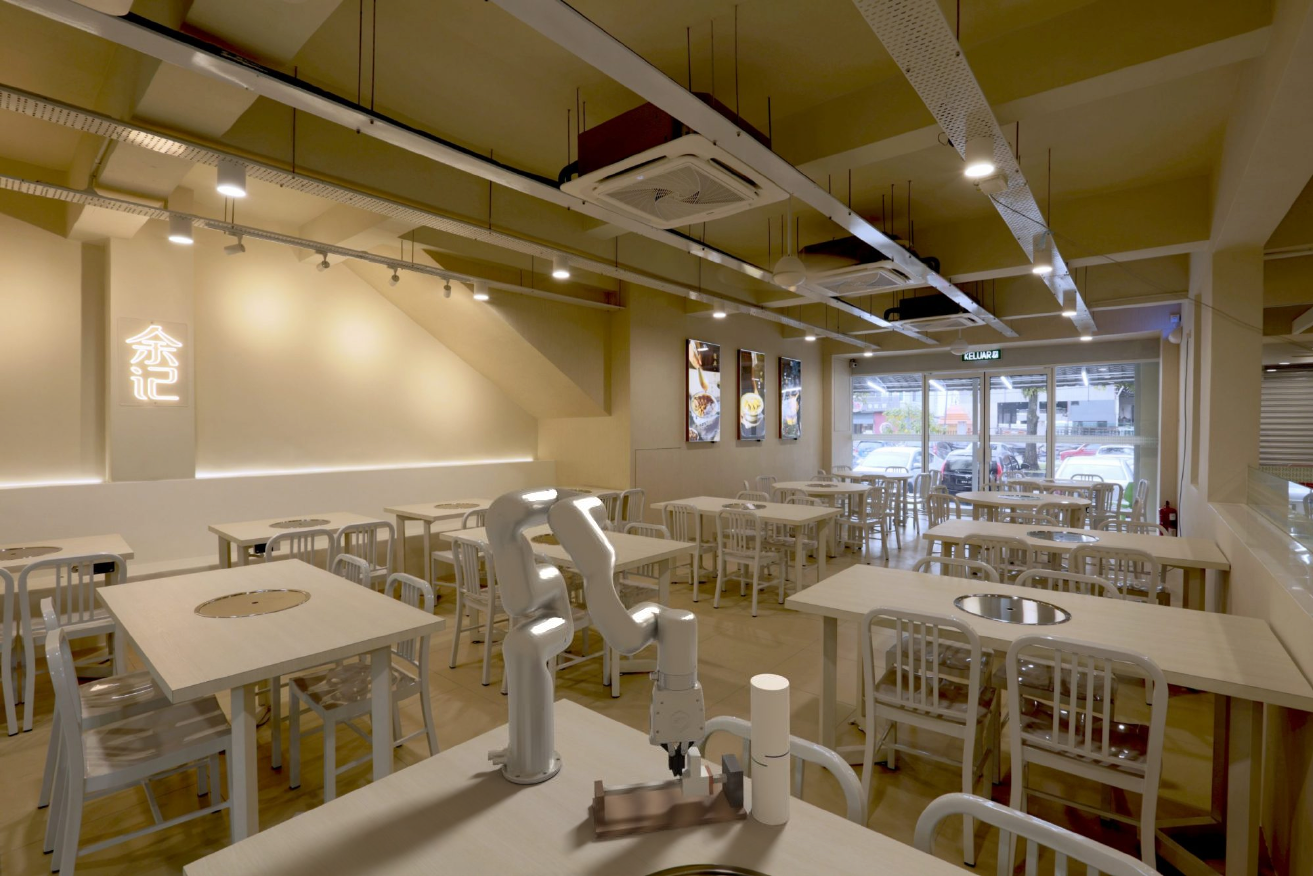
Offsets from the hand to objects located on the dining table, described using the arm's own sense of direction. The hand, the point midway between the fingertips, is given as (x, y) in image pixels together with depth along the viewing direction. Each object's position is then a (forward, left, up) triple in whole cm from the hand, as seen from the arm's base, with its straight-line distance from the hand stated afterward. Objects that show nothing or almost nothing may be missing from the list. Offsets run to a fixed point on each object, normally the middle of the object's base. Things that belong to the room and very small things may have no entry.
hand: (676, 772), depth 115 cm
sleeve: (+3, 0, -4) cm, 5 cm away
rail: (-2, 0, -7) cm, 8 cm away
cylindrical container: (+17, -4, -8) cm, 19 cm away
